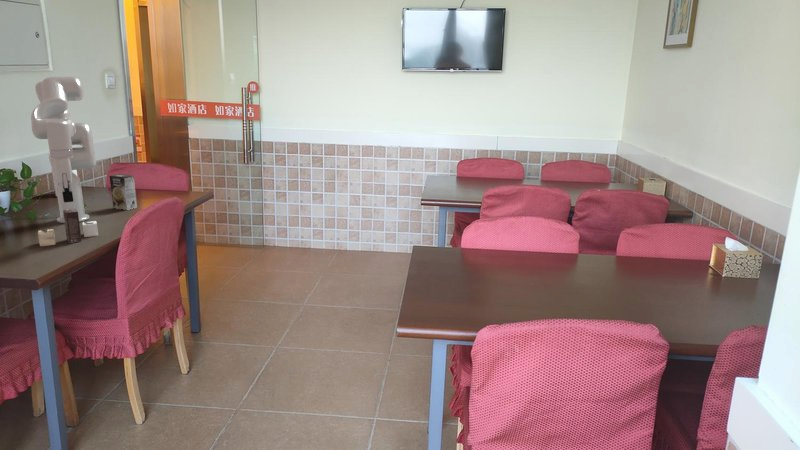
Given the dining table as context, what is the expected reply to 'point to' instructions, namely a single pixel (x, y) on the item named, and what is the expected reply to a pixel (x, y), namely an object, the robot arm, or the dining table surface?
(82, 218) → the robot arm
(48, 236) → the birch digit block
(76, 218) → the box
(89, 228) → the offwhite digit block
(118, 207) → the coffee box
